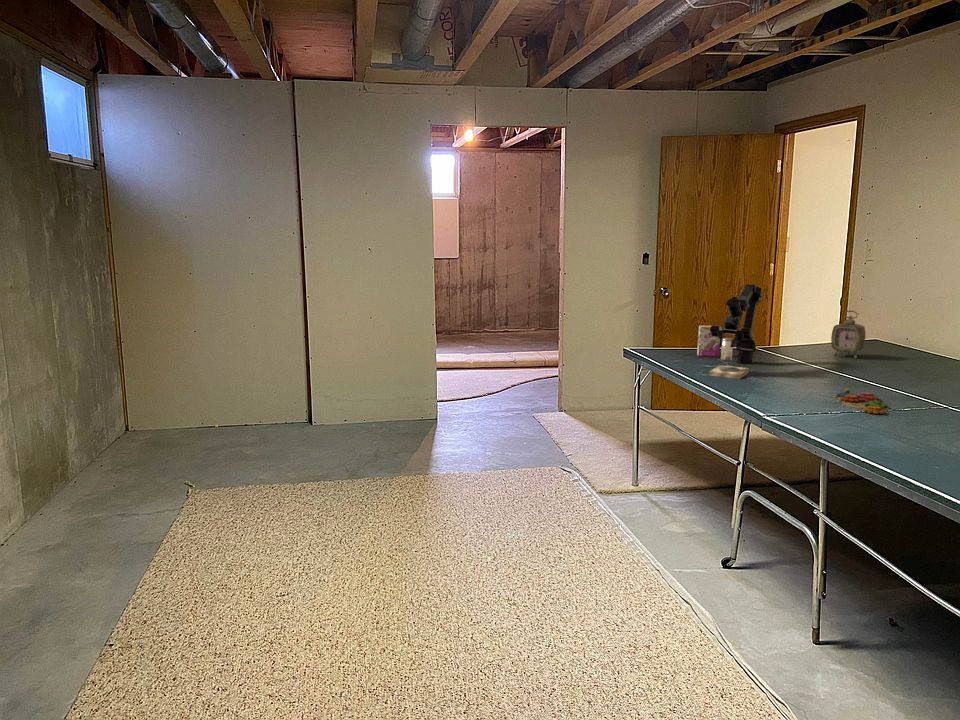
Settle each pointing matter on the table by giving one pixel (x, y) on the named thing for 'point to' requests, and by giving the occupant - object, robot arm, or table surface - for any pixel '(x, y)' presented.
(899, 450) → the table surface
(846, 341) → the tabletop clock
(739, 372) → the plinth
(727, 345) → the canister
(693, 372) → the table surface
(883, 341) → the table surface
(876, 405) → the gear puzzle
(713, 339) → the candy bar box
